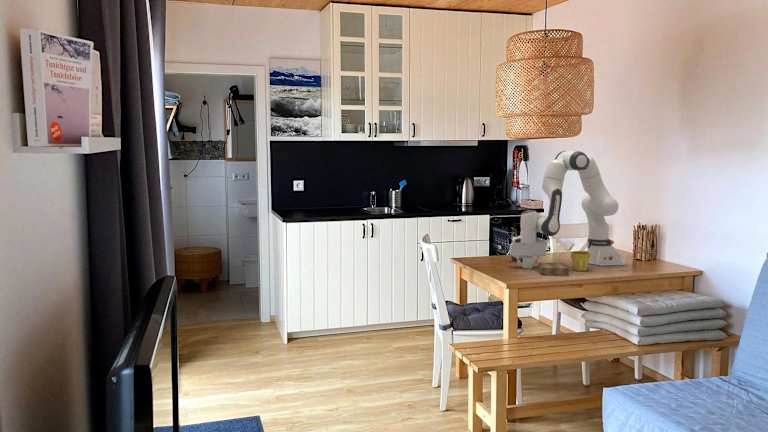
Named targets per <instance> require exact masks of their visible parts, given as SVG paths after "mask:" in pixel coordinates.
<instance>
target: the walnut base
mask: <svg viewBox="0 0 768 432" xmlns="http://www.w3.org/2000/svg"><path fill="white" fill-rule="evenodd" d="M537 271H538V273H539V274H540V276H557V275H562V277H563V276H565V277H567V276H569V267H568V266H567V265H566V263H564V262H538V263H537Z"/></svg>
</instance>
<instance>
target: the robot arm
mask: <svg viewBox="0 0 768 432" xmlns="http://www.w3.org/2000/svg"><path fill="white" fill-rule="evenodd" d="M568 171H577V172H578V175H579V179H580V182H581V184H582V188H583V190H584V192H585V193H586V194H588V195H587V196H585V197H584V198H583V199H582V201H581V208H582V210H583V212H585V214H586V219H587V223H588V237H587V243H586V244H587V245H586V246H587V251H586V252H590V259H589V262H588V265H589V264H591V265H596V266H602V267H604V266H626V265H627V261H625V260H623V258H622V253H621V252H620V251H619V250H618V249H617V248H615V247H614V246H613V245H614V244H615V241H614V240H611V239H610V238H609V235H610V233H609V231H610V227H609V224H608V222H607V221H606V218H605V217H610V216H614V215H615V214H617V212H618V210H619V203H618V201H617V200H616V199H615V198H614V197H613V196H612V195H611V194H610V192H609V190H608V189H607V188H606V186H605V184H604V181H603V178H602V175H601V172H600V169H599V166H598V164H597V162H596V159H595V158H594V157H593V156H591V155H588V154H586V153H585V152H582V151H579V150H563V151H560V152H558V153H557V154H556V156H555V157H554V158H553V159H551V160H550V161H549V162H548V164H547V167H546V169H545V171H544V175H543V179H542V187H541V188H542V190H543V192H544V193H545V194H546V195H547V197H548V199H549V204H548V212H547V216H546V215H543V214H541V213H540V212H539V213H538V212H537V211H536V210H534V209H527V210H524V211H523V212H522V213H521V215H520V223H519V224H520V225H519V226H520V233H519V234H520V235H517V236H514V237H512V238H511V243H510V245H509V247H510V249H509V253H508V254H509V255H510V256H511V255H512V256H516V258H517V257H519V256H532V257H533V256H534V257H536V259H534V264H535V265H538V263H539V262H538V261H539V260H540V257H546V256H547V245H548V242H547V241H546V240H545V238H544V239H543V238H542V239H540V238H539V239H537V233H541V234H544V235H546V236H547V237H554V236H556V235H557V234H558V233H559V232H560V230H561V223H560V222H561V221H560V217H561V209H562V201H563V185H564V182H565V181H564V180H565V175H566V173H568ZM517 260H518V262H517V264H521V262H520V260H519V259H518V258H517Z"/></svg>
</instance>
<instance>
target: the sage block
mask: <svg viewBox="0 0 768 432" xmlns="http://www.w3.org/2000/svg"><path fill="white" fill-rule="evenodd" d="M533 260H534V258H533V256H523V262H521V263H522V268H523V269H533V264H534V263H533Z"/></svg>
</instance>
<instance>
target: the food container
mask: <svg viewBox="0 0 768 432" xmlns="http://www.w3.org/2000/svg"><path fill="white" fill-rule="evenodd" d="M508 249H509V250H510V246H509V247H508ZM517 258H518V259H519V260H520V263H522V262H523V256H519V257H517ZM517 258H516V256H512V255H510V260H511V261H510V262H511V263H518V260H517Z"/></svg>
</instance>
